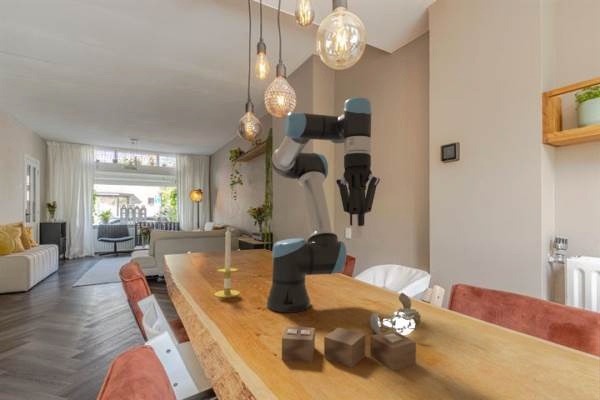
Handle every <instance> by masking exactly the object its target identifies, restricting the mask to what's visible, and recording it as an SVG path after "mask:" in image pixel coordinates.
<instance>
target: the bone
mask: <svg viewBox="0 0 600 400" xmlns="http://www.w3.org/2000/svg"><path fill="white" fill-rule="evenodd" d="M398 300H399V302H400V303H401V305H402V307H403V308H401V307H400V308H399V309H398V311H397V314H399V312H401V311H402V312H403V311H404V312H408V311H412V312H411V313H409V314H406V317H411V316H413V315H414V318H413V320H414V321H415V325H419V324H421V323H422V320H421V314H420V312H419V311H417V309H416V308H415V309H412V308H411V306H412V301H411V299H410V297H409V296H408V295H406V293H404V292H400V293H399V296H398Z"/></svg>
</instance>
